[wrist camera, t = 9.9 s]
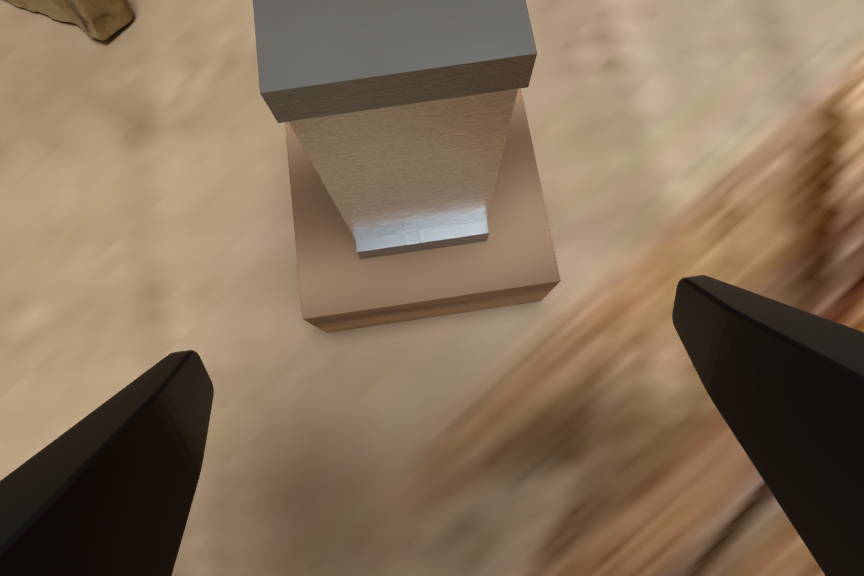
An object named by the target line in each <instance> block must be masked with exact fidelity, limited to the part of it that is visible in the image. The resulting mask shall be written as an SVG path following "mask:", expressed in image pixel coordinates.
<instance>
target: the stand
mask: <svg viewBox="0 0 864 576" xmlns="http://www.w3.org/2000/svg"><path fill="white" fill-rule="evenodd" d="M285 128H286V139H287V150H288V161H289V173H290V184H291V195H292V206H293V217H294V228H295V239H296V250H297V261H298V272H299V283H300V294H301V306H302V317H303V319H304V320H305V321H307V322H309V323H311V324H313V325H314V326H316V327H318V328H320V329H322V330H323V331H325V332H333V331H340V330H346V329H353V328H360V327H367V326H373V325H380V324H387V323H394V322H400V321H407V320H414V319H421V318H427V317H434V316H441V315H448V314H454V313H461V312H468V311H475V310H481V309H488V308H495V307H502V306H508V305H515V304H522V303H529V302H536V301H541V300H542V299H543V298H544V297H545V296H546V295H547V294H548V293H549V292H550V291H551V290H552V289H553V288H554V287H555V286H556V285H557V284H558V283H559V282H560V276H559V271H558V266H557V261H556V257H555V252H554V247H553V242H552V237H551V232H550V228H549V223H548V218H547V213H546V208H545V203H544V199H543V194H542V189H541V184H540V179H539V174H538V170H537V165H536V160H535V155H534V150H533V145H532V140H531V136H530V131H529V126H528V121H527V116H526V111H525V107H524V102H523V97H522V92H521V88H519V89H518V91H517V95H516V99H515V104H514V108H513V112H512V116H511V121H510V125H509V129H508V133H507V138H506V142H505V146H504V150H503V155H502V159H501V163H500V168H499V172H498V176H497V180H496V185H495V189H494V193H493V197H492V202H491V206H490V210H489V214H488V219H487V223H488V228H489V236H488V240H487V241H485V242H478V243H471V244H464V245H457V246H450V247H443V248H436V249H429V250H423V251H416V252H409V253H402V254H395V255H388V256H381V257H374V258H367V259H360V257H359V255H358V254H357V251H356V242H355V238H354V237H353V235H352V233H351V231H350V230H349V228H348V226H347V224H346V222H345V221H344V219H343V217H342V215H341V214H340V212H339V210H338V208H337V207H336V205H335V203H334V201H333V200H332V198H331V196H330V194H329V193H328V191H327V189H326V187H325V185H324V184H323V182H322V180H321V178H320V177H319V175H318V173H317V171H316V170H315V168H314V166H313V164H312V163H311V161H310V159H309V157H308V156H307V154H306V152H305V150H304V148H303V147H302V145H301V143H300V141H299V140H298V138H297V136H296V134H295V133H294V131H293V129H292V127H291V126H290V124H289V122H285Z"/></svg>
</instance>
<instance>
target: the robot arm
mask: <svg viewBox="0 0 864 576" xmlns="http://www.w3.org/2000/svg"><path fill="white" fill-rule="evenodd" d="M672 318H673V324H674V327H675V329H676V331H677V333H678V335H679V337H680V339H681V341H682V343H683V345H684V347H685V349H686V351H687V353H688V355H689V357H690V359H691V361H692V363H693V365H694V367H695V369H696V371H697V373H698V375H699V377H700V379H701V381H702V383H703V385H704V387H705V389H706V391H707V393H708V394H709V396H710V398H711V399H712V401H713V403H714V404H715V406H716V407H717V409H718V410H719V412H720V413H721V415H722V417H723V418H724V420H725V421H726V423H727V424H728V426H729V427H730V429H731V430H732V432H733V434H734V435H735V437H736V438H737V440H738V441H739V443H740V444H741V446H742V447H743V449H744V451H745V452H746V454H747V455H748V457H749V458H750V460H751V461H752V463H753V464H754V466H755V468H756V469H757V471H758V472H759V474H760V475H761V477H762V478H763V480H764V481H765V483H766V485H767V486H768V488H769V489H770V491H771V492H772V494H773V495H774V497H775V498H776V500H777V502H778V503H779V505H780V506H781V508H782V509H783V511H784V512H785V514H786V515H787V517H788V519H789V520H790V522H791V523H792V525H793V526H794V528H795V529H796V531H797V532H798V534H799V535H800V537H801V539H802V540H803V542H804V543H805V545H806V546H807V548H808V549H809V551H810V552H811V554H812V556H813V557H814V559H815V560H816V562H817V563H818V565H819V566H820V568H821V569H822V571H823V573H824V574H825V576H864V332H861V331H859V330H856V329H853V328H850V327H848V326H845V325H842V324H839V323H836V322H834V321H831V320H828V319H825V318H822V317H820V316H817V315H814V314H811V313H809V312H806V311H803V310H800V309H797V308H795V307H792V306H789V305H786V304H784V303H781V302H778V301H775V300H772V299H770V298H767V297H764V296H761V295H758V294H756V293H753V292H750V291H747V290H745V289H742V288H739V287H736V286H733V285H731V284H728V283H725V282H722V281H720V280H717V279H714V278H711V277H708V276H705V275H698V276H691V277H685V278H682V279H681V280H680V281H679V283H678V285H677V290H676V296H675V302H674V308H673V314H672ZM213 394H214V390H213V384H212V381H211V379H210V377H209V375H208V373H207V371H206V369H205V367H204V365H203V363H202V360H201V358H200V356H199V355H198V353H197V352H195V351H193V350H188V351H181V352H174V353H171V354H169V355H168V356H166V357H165V358H164V359H162V360H161V361H160V362H158V363H157V364H156V365H154V366H153V367H152V368H150V369H149V370H148V371H146V372H145V373H144V374H142V375H141V376H140V377H138V378H137V379H136V380H134V381H133V382H132V383H130V384H129V385H128V386H126V387H125V388H124V389H122V390H121V391H120V392H118V393H117V394H116V395H114V396H113V397H112V398H110V399H109V400H108V401H106V402H105V403H104V404H102V405H101V406H100V407H98V408H97V409H96V410H94V411H93V412H92V413H90V414H89V415H88V416H86V417H85V418H84V419H82V420H81V421H80V422H78V423H77V424H76V425H74V426H73V427H72V428H70V429H69V430H68V431H66V432H65V433H64V434H62V435H61V436H60V437H58V438H57V439H56V440H54V441H53V442H52V443H50V444H49V445H48V446H46V447H45V448H44V449H42V450H41V451H40V452H38V453H37V454H36V455H34V456H33V457H32V458H30V459H29V460H28V461H26V462H25V463H24V464H22V465H21V466H20V467H18V468H17V469H16V470H14V471H13V472H12V473H10V474H9V475H8V476H6V477H5V478H4V479H2V480H1V481H0V576H172V572H173V569H174V565H175V562H176V558H177V554H178V551H179V547H180V544H181V540H182V537H183V533H184V530H185V526H186V522H187V519H188V515H189V512H190V508H191V505H192V501H193V498H194V494H195V491H196V487H197V483H198V480H199V476H200V472H201V468H202V463H203V457H204V451H205V445H206V439H207V433H208V426H209V420H210V414H211V408H212V401H213Z"/></svg>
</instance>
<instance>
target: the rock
mask: <svg viewBox="0 0 864 576" xmlns="http://www.w3.org/2000/svg"><path fill="white" fill-rule="evenodd" d="M7 1H8V2H10V3H12V4H13V5H15V6H17V7H23V8H25V9H27V10H29V11H32V12H40V13H42V14H45V15H48V16H49V17H50V18H51V19H54V20H58V21H61V22H70V23H74V24H77V25H78V26H79V27H80V28H81V29H82V30H83V31H85V33H86V34H87V35H88V36H90V37H92V38H95V39H98V40H101V41H104V40H106V39H108V38H109V37H110V36H112V35H113V34H114V33H115V32H117V31H118V30H119V29H121V28H122V27H124V26H126V25H127V24H128V23H129V22H130V21H131V20H132V19H133V11H132V10H131V8H130V6H129V3H128V1H127V0H7Z"/></svg>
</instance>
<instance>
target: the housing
mask: <svg viewBox="0 0 864 576" xmlns="http://www.w3.org/2000/svg"><path fill="white" fill-rule="evenodd" d="M253 8H254V21H255V34H256V47H257V60H258V73H259V86H260V94H261V95H262V97H263V99H264V100H265V102H266V104H267V105H268V107H269V109H270V110H271V112H272V114H273V115H274V117H275V118H276V120H277V122H278V123H282V122H289V124H290V126H291V127H292V129H293V131H294V133H295V134H296V136H297V138H298V140H299V141H300V143H301V145H302V147H303V148H304V150H305V152H306V154H307V156H308V157H309V159H310V161H311V163H312V164H313V166H314V168H315V170H316V171H317V173H318V175H319V177H320V178H321V180H322V182H323V184H324V185H325V187H326V189H327V191H328V193H329V194H330V196H331V198H332V200H333V201H334V203H335V205H336V207H337V208H338V210H339V212H340V214H341V215H342V217H343V219H344V221H345V222H346V224H347V226H348V228H349V230H350V231H351V233H352V235H353V237H354V238H355V242H356V251H357V254H358V255H359V257H360V259H367V258H374V257H381V256H388V255H395V254H402V253H409V252H416V251H423V250H429V249H436V248H443V247H450V246H457V245H464V244H471V243H478V242H485V241H487V240H488V236H489V228H488V223H487V219H488V214H489V210H490V206H491V202H492V197H493V193H494V189H495V185H496V180H497V176H498V172H499V168H500V163H501V159H502V155H503V150H504V146H505V142H506V138H507V133H508V129H509V125H510V121H511V116H512V112H513V108H514V104H515V99H516V95H517V91H518V89H519V88H526V87H528V86H529V82H530V78H531V74H532V71H533V67H534V63H535V59H536V55H537V51H536V46H535V41H534V37H533V32H532V28H531V23H530V18H529V14H528V9H527V4H526V0H253Z"/></svg>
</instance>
